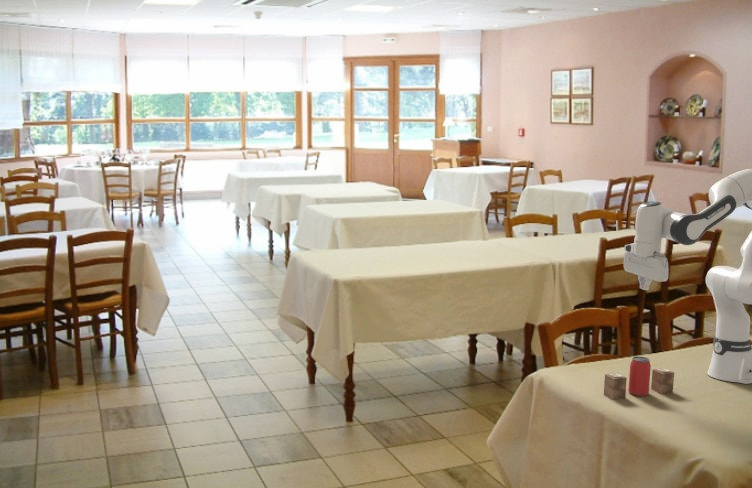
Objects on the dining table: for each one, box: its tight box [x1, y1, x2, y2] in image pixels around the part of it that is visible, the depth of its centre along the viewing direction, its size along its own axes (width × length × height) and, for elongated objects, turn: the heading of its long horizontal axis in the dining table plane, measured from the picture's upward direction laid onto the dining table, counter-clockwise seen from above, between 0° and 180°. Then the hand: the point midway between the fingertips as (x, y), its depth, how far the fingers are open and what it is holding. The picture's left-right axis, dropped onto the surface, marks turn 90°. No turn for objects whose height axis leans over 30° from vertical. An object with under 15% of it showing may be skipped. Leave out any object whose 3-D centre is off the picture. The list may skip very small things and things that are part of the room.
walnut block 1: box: [603, 372, 627, 400], centre depth 294 cm, size 5×5×7 cm
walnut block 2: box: [650, 367, 675, 395], centre depth 301 cm, size 5×5×7 cm
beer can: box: [627, 356, 652, 397], centre depth 297 cm, size 7×7×12 cm
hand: (644, 289), depth 304 cm, fingers closed
